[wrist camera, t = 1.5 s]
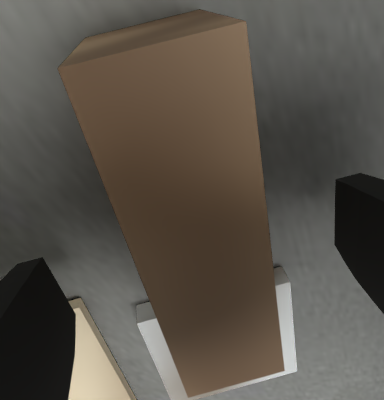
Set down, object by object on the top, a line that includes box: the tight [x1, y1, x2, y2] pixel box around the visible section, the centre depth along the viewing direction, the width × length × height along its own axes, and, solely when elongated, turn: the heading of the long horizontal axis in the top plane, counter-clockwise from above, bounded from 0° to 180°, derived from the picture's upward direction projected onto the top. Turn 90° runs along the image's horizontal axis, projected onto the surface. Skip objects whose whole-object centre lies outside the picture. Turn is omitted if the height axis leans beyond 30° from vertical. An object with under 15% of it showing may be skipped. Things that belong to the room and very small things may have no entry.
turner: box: [57, 9, 297, 400], centre depth 9 cm, size 5×13×4 cm, turn 12°
